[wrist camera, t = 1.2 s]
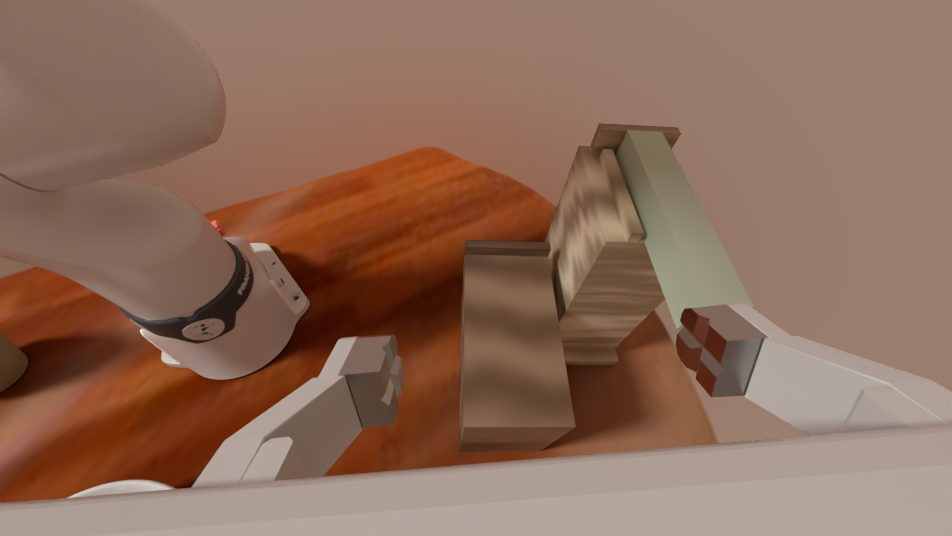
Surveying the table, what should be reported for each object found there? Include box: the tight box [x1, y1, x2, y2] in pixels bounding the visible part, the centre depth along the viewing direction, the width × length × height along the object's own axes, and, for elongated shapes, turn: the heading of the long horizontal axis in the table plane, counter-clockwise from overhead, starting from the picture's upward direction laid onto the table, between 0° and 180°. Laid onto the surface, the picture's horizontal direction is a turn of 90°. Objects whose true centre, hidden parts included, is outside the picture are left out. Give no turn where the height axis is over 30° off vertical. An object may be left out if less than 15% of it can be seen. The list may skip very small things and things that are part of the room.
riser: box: [459, 240, 576, 452], centre depth 42 cm, size 20×10×16 cm, turn 1°
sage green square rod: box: [615, 130, 755, 329], centre depth 29 cm, size 19×3×3 cm, turn 1°
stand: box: [545, 124, 681, 366], centre depth 43 cm, size 16×11×29 cm
